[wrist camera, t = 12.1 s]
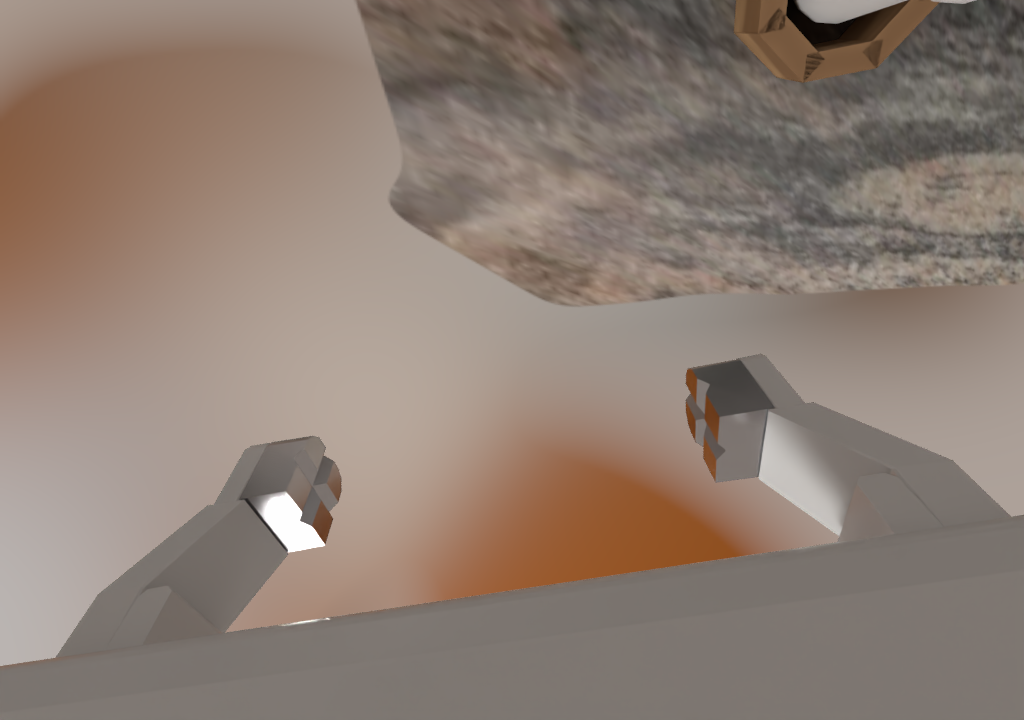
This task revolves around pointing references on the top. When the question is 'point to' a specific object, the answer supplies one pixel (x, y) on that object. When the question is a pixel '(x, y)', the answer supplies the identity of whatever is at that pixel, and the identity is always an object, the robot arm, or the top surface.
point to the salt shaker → (847, 8)
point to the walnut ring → (802, 61)
